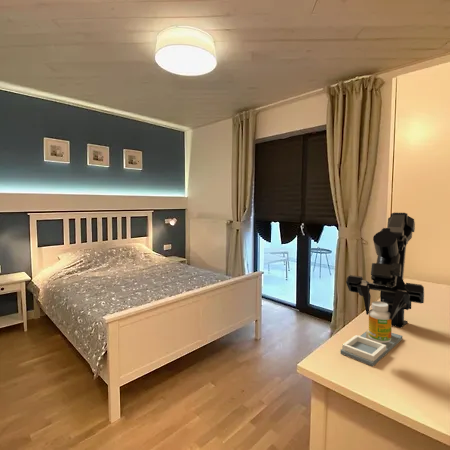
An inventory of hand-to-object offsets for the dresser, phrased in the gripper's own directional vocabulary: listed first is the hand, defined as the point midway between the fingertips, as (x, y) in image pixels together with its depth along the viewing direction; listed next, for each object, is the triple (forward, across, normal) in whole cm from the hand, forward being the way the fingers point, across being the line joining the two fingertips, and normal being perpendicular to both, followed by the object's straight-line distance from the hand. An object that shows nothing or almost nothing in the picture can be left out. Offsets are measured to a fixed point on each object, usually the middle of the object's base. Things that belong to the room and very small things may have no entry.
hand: (378, 316), depth 76 cm
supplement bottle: (+4, 0, +6) cm, 7 cm away
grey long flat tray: (+3, -3, +16) cm, 16 cm away
